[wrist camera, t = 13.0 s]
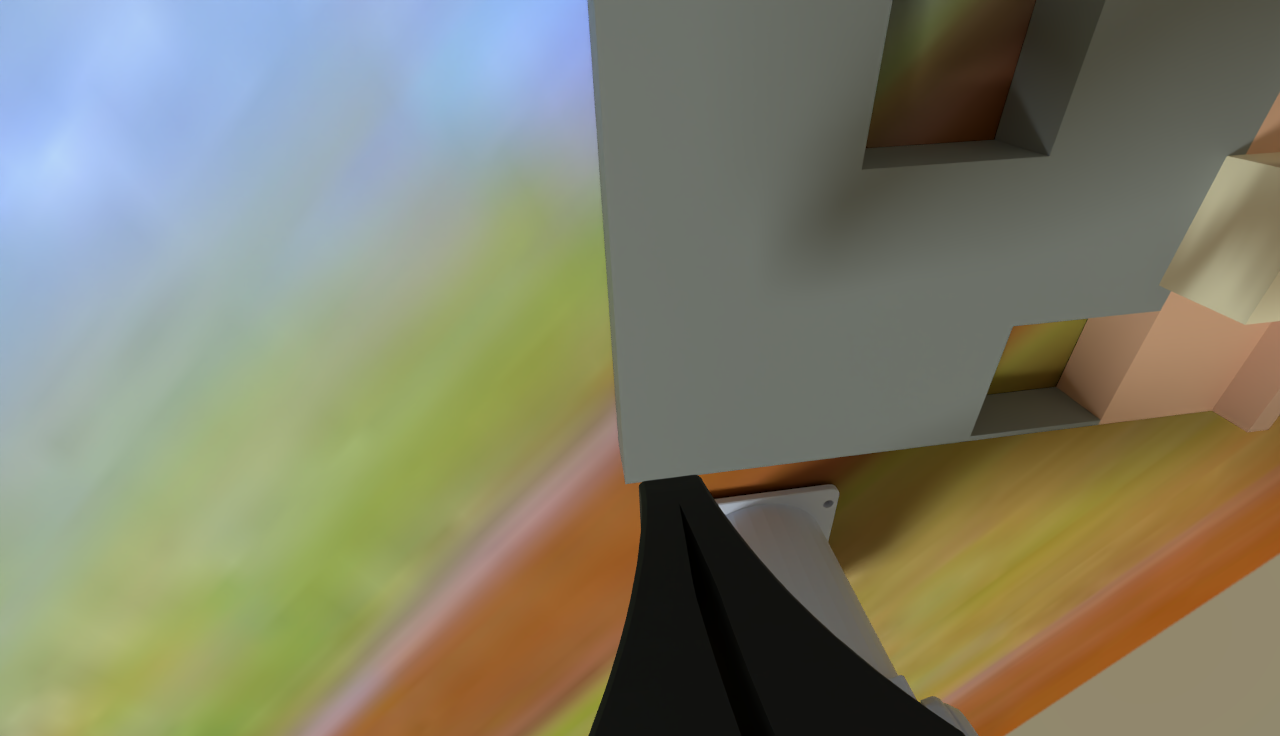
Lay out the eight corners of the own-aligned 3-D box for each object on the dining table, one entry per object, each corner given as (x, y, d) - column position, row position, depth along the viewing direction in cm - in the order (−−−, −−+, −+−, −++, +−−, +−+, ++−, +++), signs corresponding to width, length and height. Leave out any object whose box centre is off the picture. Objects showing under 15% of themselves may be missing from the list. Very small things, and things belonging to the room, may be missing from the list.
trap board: (1178, 376, 27) (1268, 429, 23) (618, 442, 24) (630, 512, 21) (1454, -77, 17) (1672, -96, 14) (584, -51, 14) (594, -68, 11)
